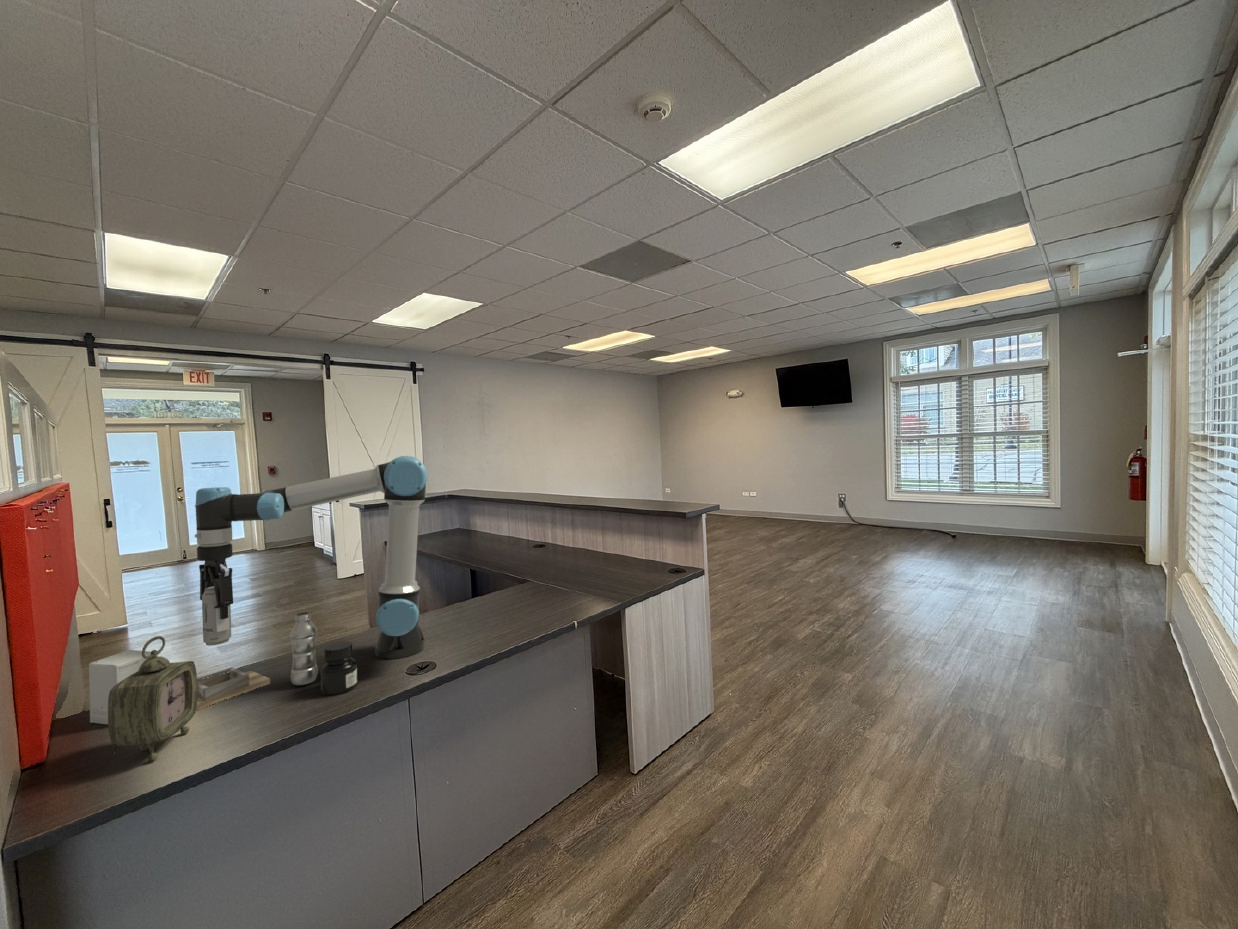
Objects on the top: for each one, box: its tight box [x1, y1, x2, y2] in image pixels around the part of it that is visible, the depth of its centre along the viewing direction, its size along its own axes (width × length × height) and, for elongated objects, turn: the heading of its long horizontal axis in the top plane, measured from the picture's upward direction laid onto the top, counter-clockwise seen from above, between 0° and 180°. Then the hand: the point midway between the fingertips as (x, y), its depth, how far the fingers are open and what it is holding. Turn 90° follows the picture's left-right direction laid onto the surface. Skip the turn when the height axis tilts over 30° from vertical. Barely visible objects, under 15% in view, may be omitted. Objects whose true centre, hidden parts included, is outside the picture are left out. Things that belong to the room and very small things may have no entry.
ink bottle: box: [320, 640, 358, 696], centre depth 139 cm, size 10×9×12 cm
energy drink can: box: [201, 586, 232, 647], centre depth 136 cm, size 6×6×15 cm
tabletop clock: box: [107, 635, 198, 762], centre depth 111 cm, size 14×9×25 cm, turn 12°
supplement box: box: [88, 649, 151, 725], centre depth 126 cm, size 9×9×15 cm
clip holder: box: [195, 666, 271, 712], centre depth 137 cm, size 11×20×4 cm, turn 150°
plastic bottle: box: [289, 611, 319, 686], centre depth 142 cm, size 6×7×20 cm
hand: (217, 628), depth 136 cm, fingers closed on energy drink can, 6 cm apart
